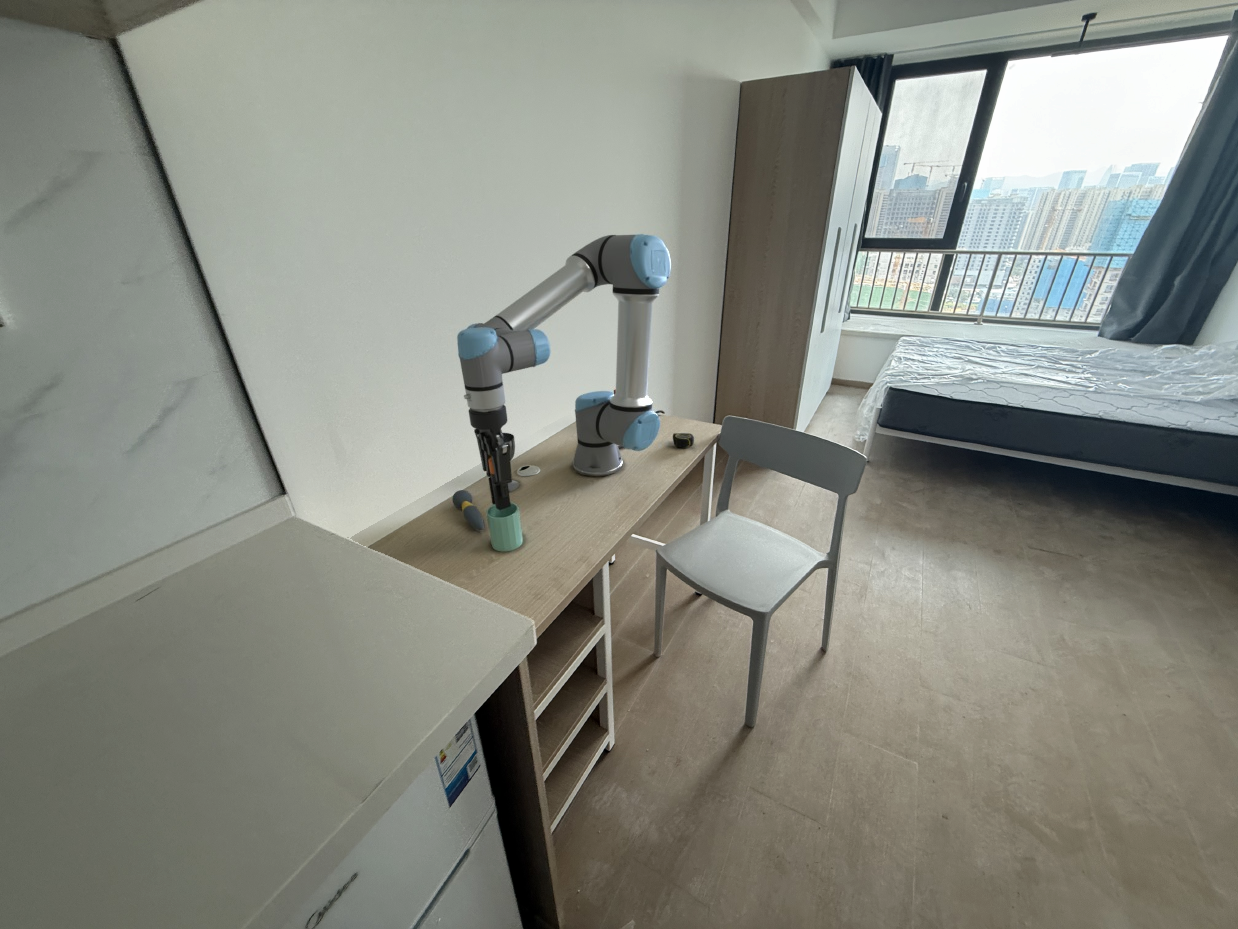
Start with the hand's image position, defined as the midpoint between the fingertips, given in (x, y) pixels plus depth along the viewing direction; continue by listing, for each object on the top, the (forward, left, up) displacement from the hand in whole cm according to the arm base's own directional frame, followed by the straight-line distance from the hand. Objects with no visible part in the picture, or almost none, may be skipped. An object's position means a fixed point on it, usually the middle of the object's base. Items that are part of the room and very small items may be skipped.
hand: (501, 504), depth 110 cm
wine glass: (-12, -26, -11) cm, 31 cm away
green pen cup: (0, 0, -10) cm, 10 cm away
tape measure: (-71, -15, -11) cm, 73 cm away
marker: (0, 0, -1) cm, 1 cm away
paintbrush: (+2, -17, -11) cm, 20 cm away
